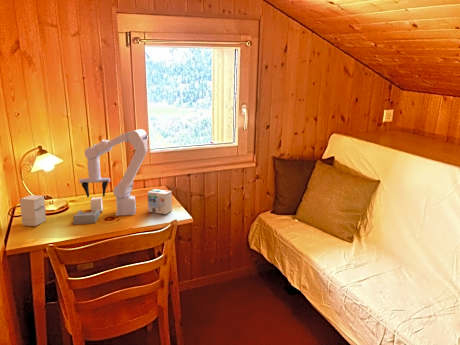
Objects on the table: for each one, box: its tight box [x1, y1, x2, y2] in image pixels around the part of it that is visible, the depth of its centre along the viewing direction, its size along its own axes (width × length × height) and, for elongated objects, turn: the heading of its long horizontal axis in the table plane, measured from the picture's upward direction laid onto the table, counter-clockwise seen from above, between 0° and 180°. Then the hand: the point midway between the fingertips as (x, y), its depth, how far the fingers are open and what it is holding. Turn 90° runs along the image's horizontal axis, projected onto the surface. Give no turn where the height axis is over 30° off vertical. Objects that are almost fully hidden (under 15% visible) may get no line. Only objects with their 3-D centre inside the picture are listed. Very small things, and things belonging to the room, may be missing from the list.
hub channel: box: [72, 209, 101, 225], centre depth 177 cm, size 10×14×4 cm
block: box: [89, 196, 104, 212], centre depth 188 cm, size 5×5×6 cm
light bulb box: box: [147, 188, 173, 215], centre depth 189 cm, size 11×7×11 cm, turn 70°
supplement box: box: [19, 194, 47, 227], centre depth 170 cm, size 7×7×13 cm
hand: (96, 196), depth 187 cm, fingers open, 7 cm apart
